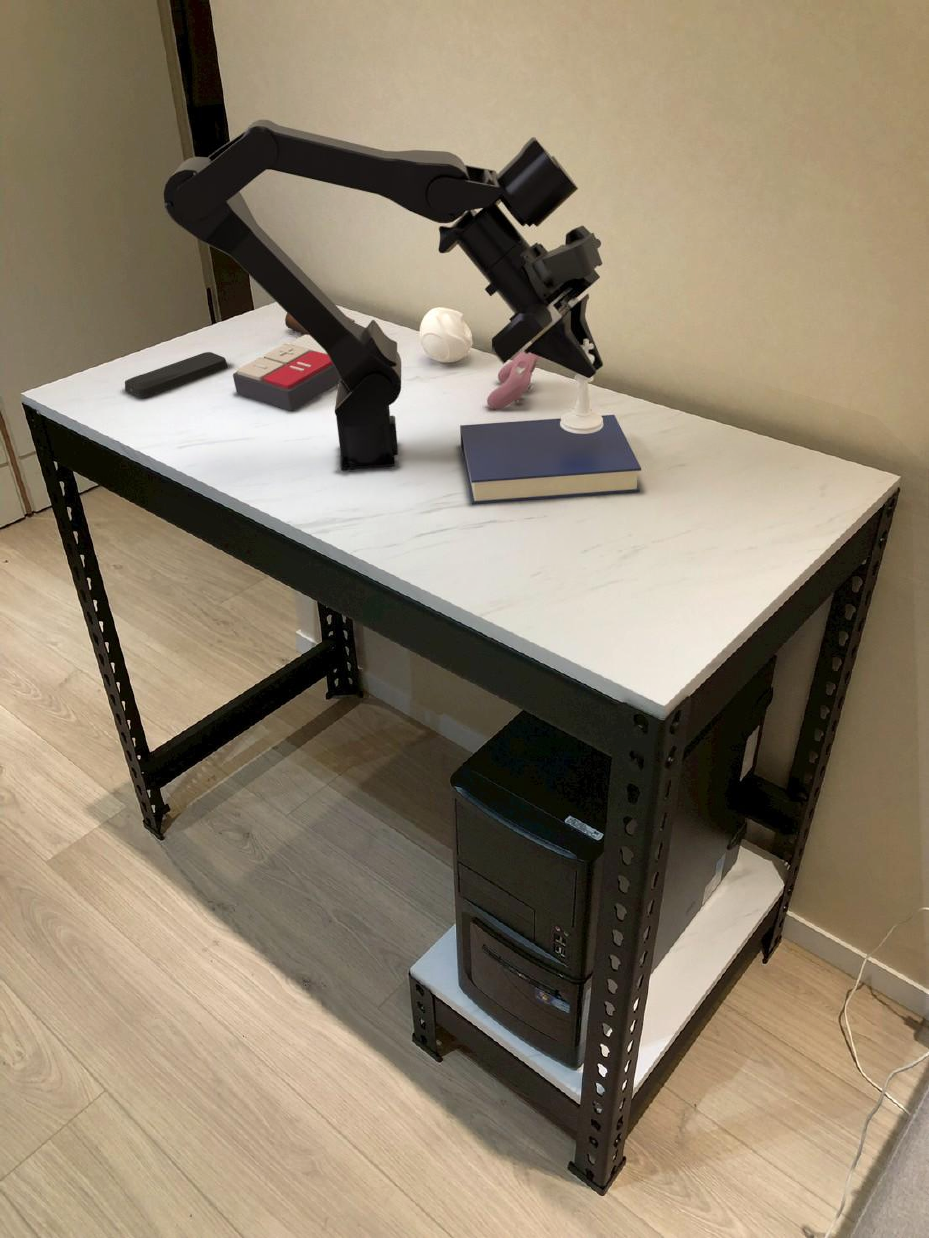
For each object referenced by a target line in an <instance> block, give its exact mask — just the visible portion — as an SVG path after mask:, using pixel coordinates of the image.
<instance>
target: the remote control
mask: <svg viewBox="0 0 929 1238" xmlns="http://www.w3.org/2000/svg"><path fill="white" fill-rule="evenodd" d="M227 368H228V362H227V359H226V357H224V356H222V355H220V354H216V353H214V352H212V351H211V352H210V351H206V352H202V353H199V354H197V355H194V356H190V357H188V358H185V359H182V360H179V361H177V362H174V363H171V364H167V365H165V366H161V367H160V368H157V369H154V370H151V371H148V372H145V373H142V374H138V375H136V376H133V377H131V378H128V379H126V380H125V381H124V392H126V393H128V394H130V395H132V396H135V398H139V399H146V398H149V397H152V396H154V395H157V394H160V393H163V392H165V391H167V390H171V389H173V388H176V387H179V386H182V385H184V384H187V383H189V382H193V381H195V380H197V379H201V378H203V377H206V376H208V375H211V374H214V373H216V372H219V371H222V370H225V369H227Z"/></svg>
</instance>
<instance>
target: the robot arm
mask: <svg viewBox="0 0 929 1238" xmlns="http://www.w3.org/2000/svg"><path fill="white" fill-rule="evenodd" d="M267 170H270V171H274V172H275V171H276V172H279V173H284V174H289V175H293V176H297V177H302V178H304V179H310V180H314V181H317V182H323V183H327V184H331V185H335V186H340V187H343V188H348V189H353V190H357V191H362V192H365V193H371V194H374V195H378V196H380V197H383V198H386V199H387V200H389V201H391V202H393V203H395V204H396V205H398V206H400V207H402V208H403V209H405V210H407V211H409V212H411V213H413V214H415V215H418V216H420V217H423V218H425V219H427V220H430V221H431V222H434V223H437V224H450V223H451V224H452V223H453V224H452V225H451V226H447V225H440V226H438V232H439V243H438V249H437V250H438V253H440V254H447V253H450V252H451V251H453V250H454V248H456V247H457V246H458V247H460V249H461V250H462V251H463V253H464V254H465V255H466V256H467V257H468V259H469V260H470V261H471V262H472V264H473V265H474V266H475V267H476V269H477V270H478V271H479V272H480V273H481V275H482V276H483V277H484V278H485V279H486V281H487V282H488V283H489V284H488V285H487V286H486V287H484V291H485V292H486V293H487V294H488V296H489V297H492V296H493V295H494V294H496V293H497V294H498V295H499V297H500V298H501V299H502V300H503V301H504V303H505V304H506V305H507V306H508V308H509V309H510V311H512V313H513V315H512V316H511V317H510V318H509V322H508V323H507V324H506V325H505V326H504V327H503V328H501V330H499V332H497V333H496V334H495V335H494V336H493V337H492V338H491V351H492V353H493V355H495V357H496V358H497V360H499V362H500V363H501V364H502V365H505V364H506V363H507V362H508V361H509V360H511V358H513V357H514V356H515V355H516V354H518V352H519V351H520V350H522V349H523V348H524V347H525V346H526V345H528V343H530V344H529V345H528V346H527V347H526V348H524V349H525V350H524V349H523V352H525V353H526V354H528V353H532V354H535V355H537V356H539V358H542V359H545V360H548V361H550V362H553V363H555V364H557V365H560V366H561V367H564V368H565V369H568V370H570V371H572V372H574V373H576V374H580V375H583V376H585V377H587V378H591V377H592V376H593V377H594V376H595V375H596V373H597V371H599V370H600V369H601V368H602V367H603V366H604V363H603V359H602V358H601V354H600V353H599V350H598V347H597V345H596V342H595V340H594V338H593V335H592V333H591V330H590V326H589V324H588V322H587V318H586V312H587V305H588V301H589V299H590V294H589V293H587V294H585V295H584V296H583V297H582V298H581V299H579V297H580V296H581V295H582V294H583V293H584V292H586V290H588V289H589V288H590V287H592V285H593V284H595V283H596V282H597V281H598V280H599V279H600V278H601V276H600V275H599V274H598V272H597V271H596V268H597V267H600V266H602V265H603V261H602V258H601V255H600V253H599V248H600V247H601V246H602V241H601V239H599V238H597V237H596V235H595V233H594V232H590V230H588V229H587V228H586V227H585V225H580V226H577V227H575V228H572V229H571V230H569V231H568V232H567V233H566V234H565V242H564V244H560V245H559V246H558V247H556V248H554V249H551V250H549V251H548V250H547V249H546V247H545V246H544V245H543V244H542V243H539V242H535V243H534V244H533V245H530V244H529V242H527V240H526V239H525V238H524V236H523V235H522V234H521V232H520V231H519V230H518V229H517V227H516V226H515V225H514V224H513V222H512V221H511V220H510V219H509V217H507V214H505V213H504V212H503V210H502V209H501V208H500V206H499V205H500V204H501V203H502V205H503V206H504V208H505V209H506V210H507V211H508V212H509V214H510V215H511V216H512V217H513V219H514V220H516V222H517V223H518V224H519V225H520V226H521V227H525V226H526V225H527V227H528V228H530V227H532V226H533V225H534V227H537V228H538V227H539V226H540V225H541V224H542V223H543V222H544V221H546V220H547V218H549V217H550V216H551V215H552V214H553V213H554V212H555V211H556V210H558V208H559V207H560V206H562V205H563V204H564V203H565V202H566V201H567V200H569V198H570V197H571V196H573V194H575V192H577V190H578V189H579V187H578V186H577V184H576V183H575V181H574V180H573V179H572V177H571V176H570V175H569V173H568V172H567V171H566V169H565V168H564V166H563V165H562V164H561V163H560V162H559V161H558V159H557V158H556V156H554V155H551V154H550V153H549V152H548V150H547V149H546V148H545V147H544V146H543V145H542V144H541V143H540V141H539V140H538V139H537V138H536V137H535V136H532V137H530V139H529V140H527V142H526V143H525V144H523V146H522V147H521V149H520V150H519V152H518V153H517V154H516V155H515V156H514V157H512V159H511V160H510V161H509V162H508V163H507V164H506V165H505V166H504V167H503V168H502V169H501V170H500V171H499V172H497V170H494V169H489V168H484V167H478V166H474V165H469V164H465V163H464V162H463V160H462V159H461V158H460V157H459V156H457V155H456V154H454V153H452V152H451V151H445V150H443V151H442V150H425V149H424V150H423V149H422V150H421V149H412V150H397V151H395V150H383V149H380V148H375V147H371V146H366V145H363V144H359V143H353V142H350V141H345V140H341V139H338V138H333V137H329V136H325V135H322V134H321V135H320V134H317V133H312V132H308V131H304V130H301V129H296V128H291V127H288V126H284V125H280V124H277V123H275V122H273V121H271V120H269V119H257V120H254V121H253V122H252V123H251V124H250V125H248V126H247V128H246V130H244V131H243V132H242V133H240V134H239V135H238V136H236V137H234V138H233V139H232V140H229V141H228V142H227V143H225V144H224V145H223V146H221V147H220V148H218V149H217V150H215V151H214V152H213V153H212V154H210V155H209V156H208V157H205V156H194V157H191V158H187V159H185V160H184V161H183V162H182V163H181V164H179V166H178V167H177V168H176V170H175V171H174V172H173V173H172V174H171V175H170V176H169V178H168V180H167V182H166V183H165V186H164V190H163V201H164V208H165V210H166V213H167V214H168V215H169V217H170V218H171V220H172V221H174V222H175V223H176V224H177V225H178V226H179V227H181V228H182V229H184V230H185V231H186V232H188V234H189V233H190V234H191V236H193V237H195V238H196V239H197V240H198V241H200V242H202V243H203V244H206V245H208V246H210V247H211V248H214V249H216V250H218V251H220V252H221V253H224V254H226V255H227V256H229V257H230V258H232V259H233V260H234V261H235V263H237V264H238V265H239V266H240V267H241V269H243V270H244V271H245V272H246V273H247V274H248V275H249V276H250V277H251V279H253V280H254V281H255V282H256V283H257V284H258V285H259V286H260V288H262V289H263V290H264V291H265V292H266V293H267V294H268V295H269V296H270V297H271V298H272V299H273V300H274V301H275V302H276V304H278V305H279V306H280V307H281V308H282V310H284V311H285V312H286V314H287V313H288V314H289V315H290V316H291V317H292V318H293V319H294V320H295V321H296V322H297V323H298V324H299V325H300V326H301V327H302V328H303V329H304V330H305V331H306V332H307V333H308V334H309V335H310V336H311V337H312V338H313V339H314V340H315V341H316V342H317V343H318V344H319V345H320V346H321V347H322V348H323V349H324V350H325V351H326V353H327V354H328V356H329V358H330V360H331V361H332V363H333V365H334V367H335V369H336V371H337V373H338V375H339V376H340V378H341V380H340V381H339V384H338V385H337V392H336V399H335V405H334V406H335V407H334V415H335V418H336V427H337V435H338V443H339V453H340V456H339V459H340V460H339V464H340V465H339V467H340V468H339V469H340V470H341V471H343V472H344V471H346V472H347V471H349V472H350V471H361V470H374V469H389V468H394V467H395V466H396V460H395V459H396V458H395V457H397V456H398V455H399V447H398V436H397V434H398V433H397V422H396V416H394V415H391V412H390V411H391V409H390V406H392V404H394V403H395V402H396V401H397V399H398V398H399V396H400V394H401V391H402V358H401V354H400V353H399V352H398V342H397V341H395V340H394V339H392V338H389V337H388V336H387V335H386V334H385V332H384V331H383V330H382V328H381V326H380V325H379V324H378V323H377V321H376V320H375V319H372V320H370V322H369V324H367V326H366V327H365V326H363V325H360V324H358V323H356V322H353V321H351V320H350V319H349V318H350V317H349V318H347V317H348V316H347V315H346V314H345V313H344V312H343V311H342V310H341V309H340V308H339V307H338V305H336V304H335V303H334V302H333V300H331V299H330V298H329V297H328V296H327V295H326V293H324V291H323V290H322V289H320V287H319V286H318V285H317V284H316V283H315V282H314V281H313V280H312V279H311V278H310V277H309V276H308V275H307V274H306V273H305V272H304V271H303V270H302V269H301V267H299V266H298V264H297V263H295V261H294V260H293V259H292V258H291V257H290V256H289V255H288V254H287V253H286V252H285V251H284V250H283V249H282V248H281V246H279V245H278V244H277V243H276V242H275V240H274V239H272V238H271V236H269V234H267V232H266V231H265V230H264V229H263V228H262V227H261V226H260V225H259V223H258V222H257V221H256V219H255V217H254V215H253V213H252V212H251V209H250V208H249V206H248V203H247V202H246V200H245V198H244V197H243V195H242V193H241V192H240V191H241V190H243V189H244V188H245V187H246V186H247V185H249V184H250V183H251V182H253V180H255V179H256V178H257V177H258V176H260V175H261V174H263V173H264V172H266V171H267ZM476 210H479V211H478V212H477V211H476ZM584 339H588V340H589V344H591V343H592V344H594V348H593V349H588V354H591V355H593V356H594V362H593V364H592V363H591V361H590V359H589V358H588V356H587V355H586V353H585V352H584V350H583V348H582V347H581V345H583V340H584Z"/></svg>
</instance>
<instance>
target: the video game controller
mask: <svg viewBox="0 0 929 1238" xmlns="http://www.w3.org/2000/svg"><path fill="white" fill-rule="evenodd" d="M525 349H526V348H524V349H523V351H521V352H519V353H517V355H516V356H515V357H514V358H513V359H512V360H511V361H510V362H508V363H507V364H504V366H502V367H501V368H500V370H499V372H498V374H497V379H498V382H500V384H501V385H499V386H498V387H497V388H495V389H494V390H493V391H491V392H490V393H489V395H488V396H487V399H486V404H487V407H488V408H491V409H492V410H497V409H503V408H505V407H507V406H509V405H511V404H513V403H516V404H517V403H518V401H519V399H520V398H522V396H523V394H524V393H525V392H528V393H529V392H530V391H532V389H533V387H534V385H533V384H534V383H531V381H532V376H533V373H534V371H535V370H536V367H537V363H538V360H539V358H540V356H537V355H535V354H532V353H528V354H526V353H525V352H524V350H525Z"/></svg>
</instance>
